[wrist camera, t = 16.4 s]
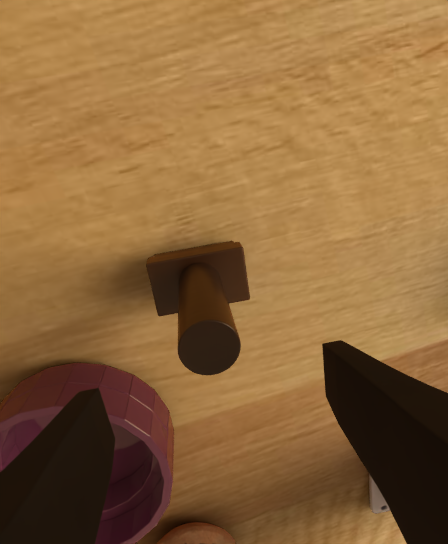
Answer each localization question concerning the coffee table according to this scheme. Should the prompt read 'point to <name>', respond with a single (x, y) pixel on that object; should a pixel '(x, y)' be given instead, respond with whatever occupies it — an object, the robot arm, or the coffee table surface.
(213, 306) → the brown peg stand
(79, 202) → the coffee table surface
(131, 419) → the bowl
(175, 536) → the oil lamp
